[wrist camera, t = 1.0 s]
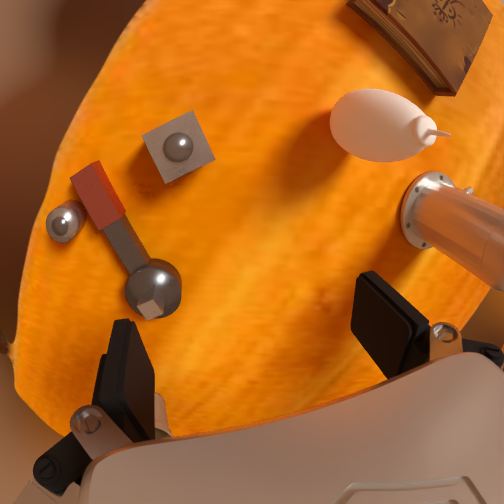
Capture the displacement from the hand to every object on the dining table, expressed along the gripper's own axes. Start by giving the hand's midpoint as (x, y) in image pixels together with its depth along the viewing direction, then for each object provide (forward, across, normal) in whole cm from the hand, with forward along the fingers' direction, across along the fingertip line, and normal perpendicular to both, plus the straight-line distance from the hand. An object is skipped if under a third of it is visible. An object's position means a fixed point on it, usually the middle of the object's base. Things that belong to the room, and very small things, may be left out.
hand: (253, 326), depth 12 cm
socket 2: (+25, +2, -6) cm, 26 cm away
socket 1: (+26, +17, 0) cm, 31 cm away
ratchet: (+25, +10, +4) cm, 27 cm away
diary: (+24, -34, -27) cm, 50 cm away
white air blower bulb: (+24, -18, -7) cm, 31 cm away
